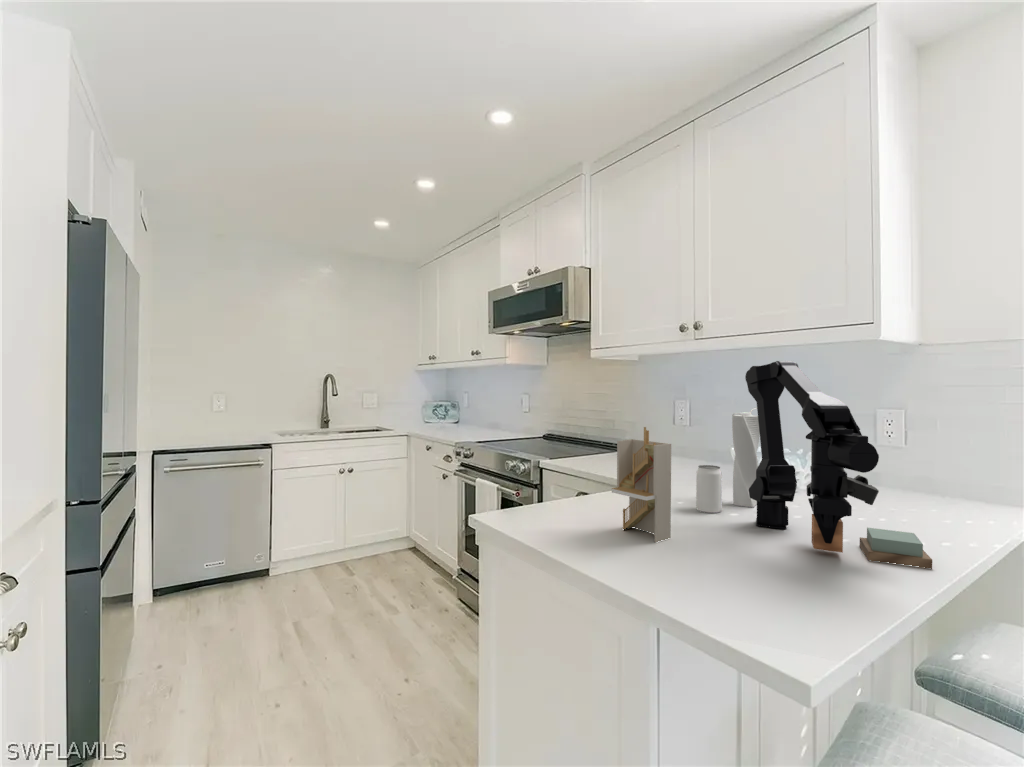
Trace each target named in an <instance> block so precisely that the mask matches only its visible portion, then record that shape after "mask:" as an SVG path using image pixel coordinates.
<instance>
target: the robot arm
mask: <svg viewBox="0 0 1024 767" xmlns="http://www.w3.org/2000/svg"><path fill="white" fill-rule="evenodd" d="M744 379H745V383H746V384H747V390H748V393H749V394H750V395H751V397H752V398H753V399H754V401H755V402H756V407H757V409H756V410H757V416H758V422H759V432H760V435H759V442H760V451H761V461H760V463H758V468H757V470H756V479H755V481H754V482H753V484H752V485H751V487H750V488H749V496H750V498H751V499H754V500H756V501H757V505H756V518H755V526H756V527H763V528H771V529H780V530H786V529H787V527H788V525H789V506H787V505H786V502H789V503H792V502H794V499H795V496H796V495H795V494H796V490H797V487H798V481H797V477H796V468H795V466H794V465H792V464H791V465H790V463H789V462H788V461H787V460H786V458H785V451H784V442H783V441H784V440H783V433H782V432H783V431H782V421H781V412H780V403H779V399H780V397H781V396H782V393H783V392H784V390H785V389H786V390H787V392H788V393H789V394H790V395H791V396H792V398H794V399H795V401H796V402H797V403H798V404H799V406H800V407H801V408H802V410H801V417H802V418H803V420H804V422H805V423H806V425H807V427H808V428H809V429H810V430H811V431H810V432H809V433H807V434H806V435H805V439H806V440H809V441H810V440H811V449H810V450H811V454H810V455H811V459H810V460H811V465H810V466H809V468H810V469H809V470H810V472H811V473H810V476H811V477H810V482H809V483H808V484H807V485H806V495H807V497H812V498H808V499H807V501H808V502H809V505H810V508H811V510H812V514H814V516H815V519H816V521H817V524H818V526H819V529H820V531H821V534H822V536H823V539H824V541H825V543H829V544H831V543H832V540H833V536H834V533H835V530H836V526H837V523H838V521H839V520H840V519H841V520H842V519H843V518H844V517H852V516H853V515H852V513H853V512H852V511H853V510H852V504H851V503H850V501H848V500H847V499H848V496H850V497H852V498H854V499H857V500H859V501H862V502H864V503H865V504H867V505H869V506H873V505H874V502H875V500H877V499H876V498H877V496H878V494H879V492H880V491H879V489H878V488H877V487H875V486H873V485H871V484H869V480H868V478H867V477H865V476H862V475H860V474H858V475H857V476H854V478H853V477H852V476H851V477H849V476H848V472H847V471H846V470H850V471H854V472H858V473H865V474H866V473H869V472H872V471H873V470H874V469H875V468H876V466H878V464H879V458H880V455H879V453H878V451H877V448H876V447H875V446H874V445H873V444H871V443H870V442H869V436H868V435H863V433H862V432H861V431H860V430H861V428H860V426H858V424H857V422H856V420H855V419H854V417H853V415H852V413H851V412H852V411H851V409H850V408H849V406H848V405H847V404H846V403H844V402H843V401H841V400H840V399H838V398H836V397H833V396H831V395H829V394H826V393H824V392H823V391H822V390H821V389H819V388H818V386H816V384H815V383H814V382H813V381H812V380H811V379H810V378H809V377H808V376H807V375H806V374H805V373H804V372H803V371H802V370H801V369H800V368H799V364H798V363H797V362H795V361H794V360H793V361H792V360H776V361H773V362H771V363H767V364H763V365H752V366H751V367H750V368H749V369H747V371H746V372H745V378H744ZM845 469H846V470H845ZM811 495H812V496H811Z"/></svg>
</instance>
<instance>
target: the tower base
mask: <svg viewBox="0 0 1024 767" xmlns="http://www.w3.org/2000/svg"><path fill="white" fill-rule="evenodd" d="M859 547H861V548H860V549H861V551H862V550H863V551H862V553H863V552H864V553H865V554H864V553H863V554H864V556H865V555H866V556H865V558H866V557H867V558H868V559H867V558H866V559H867V561H868V560H871V561H870V562H873V561H880V562H879V563H881V562H889V563H896V564H904V565H912V566H919V567H925V568H924V569H926V568H931V569H930V570H933V559H932V558H931V556H930V555H929V554H927V553H926V551H924V549H923V557H918V556H911V555H903V554H896V553H889V552H881V551H874V550H872V549H871V547H870V545H869V543H868V541H867V537H859ZM896 564H895V565H896ZM904 565H903V566H904ZM919 567H918V568H919Z"/></svg>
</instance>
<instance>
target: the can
mask: <svg viewBox="0 0 1024 767" xmlns="http://www.w3.org/2000/svg"><path fill="white" fill-rule="evenodd" d="M722 479H723V475H722V471H721V466H718V465H713V464H711V465H710V464H699V465H698V468H697V470H696V485H695V486H696V488H695V490H696V491H695V492H696V494H695V495H696V497H695V498H696V502H695V504H696V505H695V506H696V510H697V511H699V512H700V511H701V513H704V512H705V514H719V513H721V512H722V510H723V509H722V505H723V502H722V501H723V499H722V498H723V485H722V484H723V480H722Z"/></svg>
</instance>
